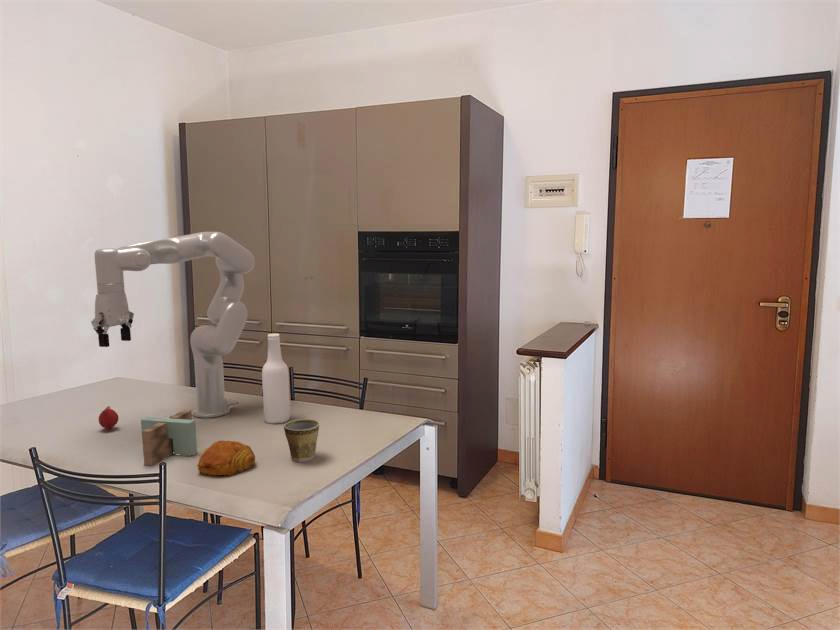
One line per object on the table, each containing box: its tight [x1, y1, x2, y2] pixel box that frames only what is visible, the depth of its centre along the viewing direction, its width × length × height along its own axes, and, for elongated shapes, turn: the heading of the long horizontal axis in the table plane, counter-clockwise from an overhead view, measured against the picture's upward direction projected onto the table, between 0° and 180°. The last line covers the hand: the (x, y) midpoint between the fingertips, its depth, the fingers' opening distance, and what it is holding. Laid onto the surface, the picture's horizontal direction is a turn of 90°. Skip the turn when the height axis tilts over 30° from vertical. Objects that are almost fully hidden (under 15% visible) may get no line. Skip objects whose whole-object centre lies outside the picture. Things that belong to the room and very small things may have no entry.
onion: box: [98, 405, 119, 431], centre depth 203 cm, size 6×6×8 cm
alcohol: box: [261, 333, 291, 425], centre depth 210 cm, size 9×9×30 cm
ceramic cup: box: [283, 418, 320, 463], centre depth 179 cm, size 13×10×10 cm
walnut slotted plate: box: [141, 409, 193, 467], centre depth 182 cm, size 20×2×10 cm, turn 167°
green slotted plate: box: [140, 416, 198, 456], centre depth 182 cm, size 16×3×10 cm, turn 77°
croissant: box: [196, 440, 256, 476], centre depth 171 cm, size 14×16×8 cm
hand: (115, 343), depth 193 cm, fingers open, 9 cm apart
